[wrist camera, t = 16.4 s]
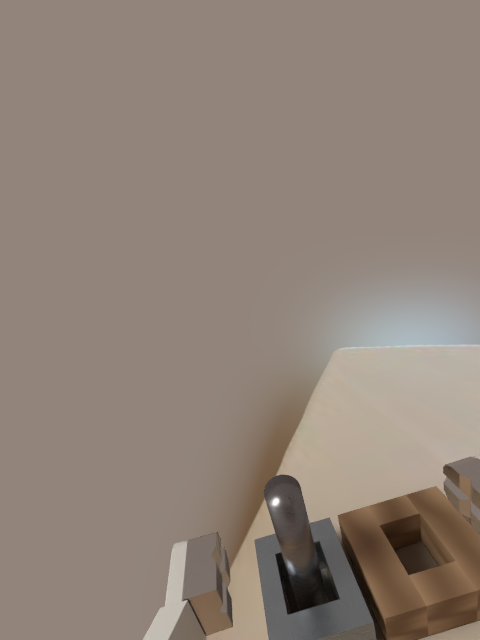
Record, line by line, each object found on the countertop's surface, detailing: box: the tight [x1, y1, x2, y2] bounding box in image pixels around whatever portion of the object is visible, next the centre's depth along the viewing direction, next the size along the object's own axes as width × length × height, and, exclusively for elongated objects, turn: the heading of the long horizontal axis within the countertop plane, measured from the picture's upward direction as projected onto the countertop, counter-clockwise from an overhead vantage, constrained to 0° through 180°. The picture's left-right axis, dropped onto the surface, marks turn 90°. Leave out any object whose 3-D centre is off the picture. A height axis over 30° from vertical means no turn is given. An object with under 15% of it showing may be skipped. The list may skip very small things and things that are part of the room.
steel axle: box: [264, 475, 328, 611], centre depth 26 cm, size 3×3×16 cm
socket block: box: [255, 518, 377, 640], centre depth 28 cm, size 9×9×4 cm
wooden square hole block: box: [338, 486, 480, 640], centre depth 28 cm, size 12×9×4 cm
